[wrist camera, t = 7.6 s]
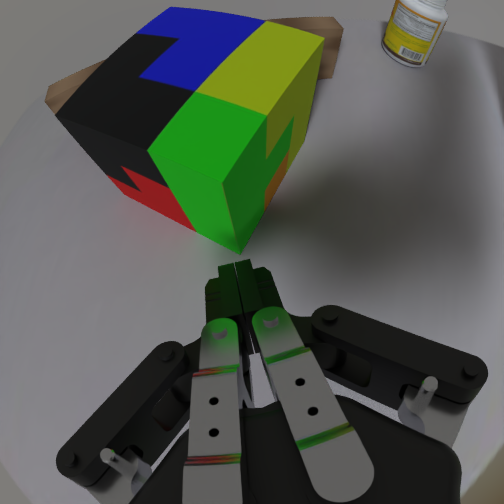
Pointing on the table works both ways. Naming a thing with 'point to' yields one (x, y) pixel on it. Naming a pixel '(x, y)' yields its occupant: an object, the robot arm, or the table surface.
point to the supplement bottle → (414, 30)
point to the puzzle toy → (200, 116)
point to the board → (314, 25)
